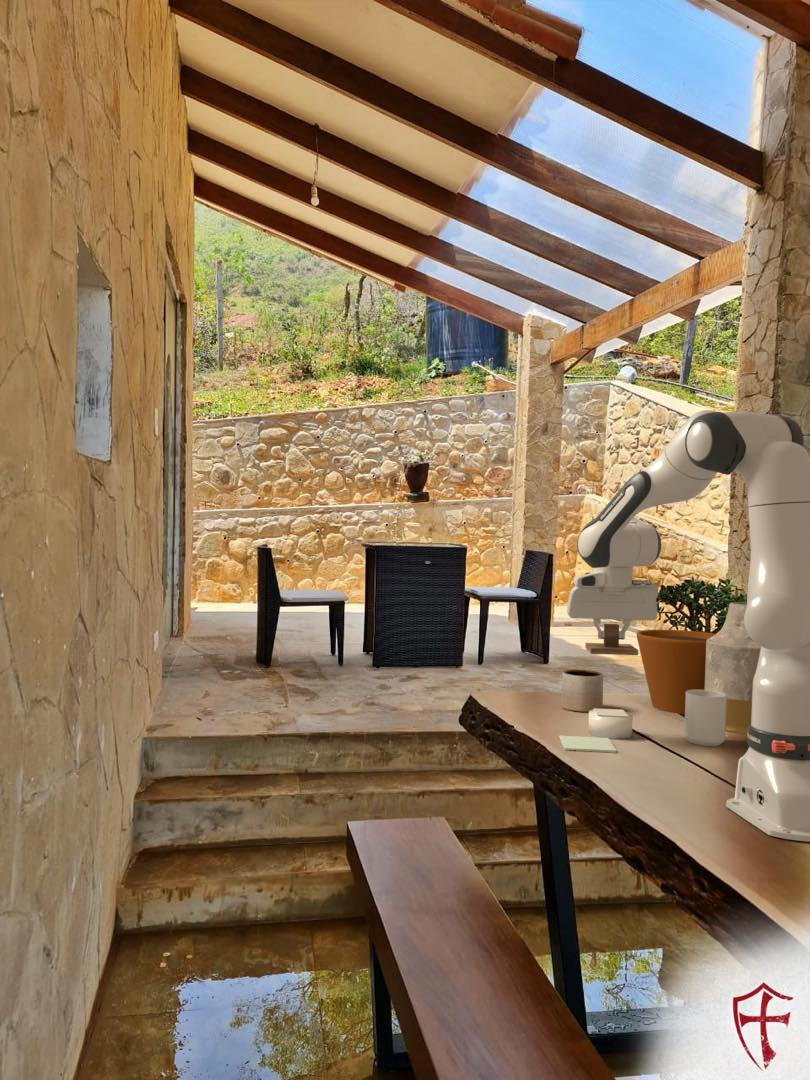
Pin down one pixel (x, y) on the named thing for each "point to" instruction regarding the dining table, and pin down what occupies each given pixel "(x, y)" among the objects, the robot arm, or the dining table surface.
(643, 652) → the flower pot
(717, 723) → the mug
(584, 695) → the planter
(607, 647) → the lid
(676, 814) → the dining table surface
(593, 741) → the mat
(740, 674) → the vase
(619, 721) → the disc with square top
